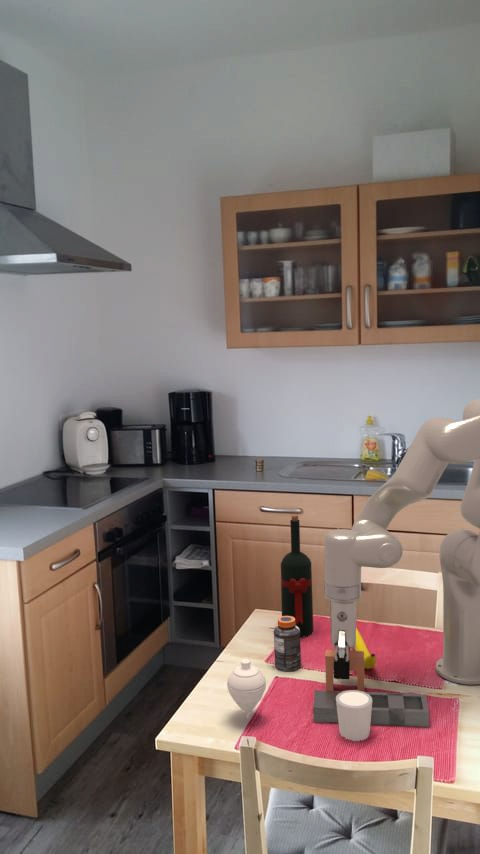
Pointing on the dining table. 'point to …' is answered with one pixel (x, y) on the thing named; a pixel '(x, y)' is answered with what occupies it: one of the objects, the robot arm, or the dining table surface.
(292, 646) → the pill bottle
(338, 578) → the robot arm
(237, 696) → the spinning top
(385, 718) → the grey slotted block
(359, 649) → the banana
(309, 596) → the wine bottle
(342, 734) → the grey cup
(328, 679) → the orange block
